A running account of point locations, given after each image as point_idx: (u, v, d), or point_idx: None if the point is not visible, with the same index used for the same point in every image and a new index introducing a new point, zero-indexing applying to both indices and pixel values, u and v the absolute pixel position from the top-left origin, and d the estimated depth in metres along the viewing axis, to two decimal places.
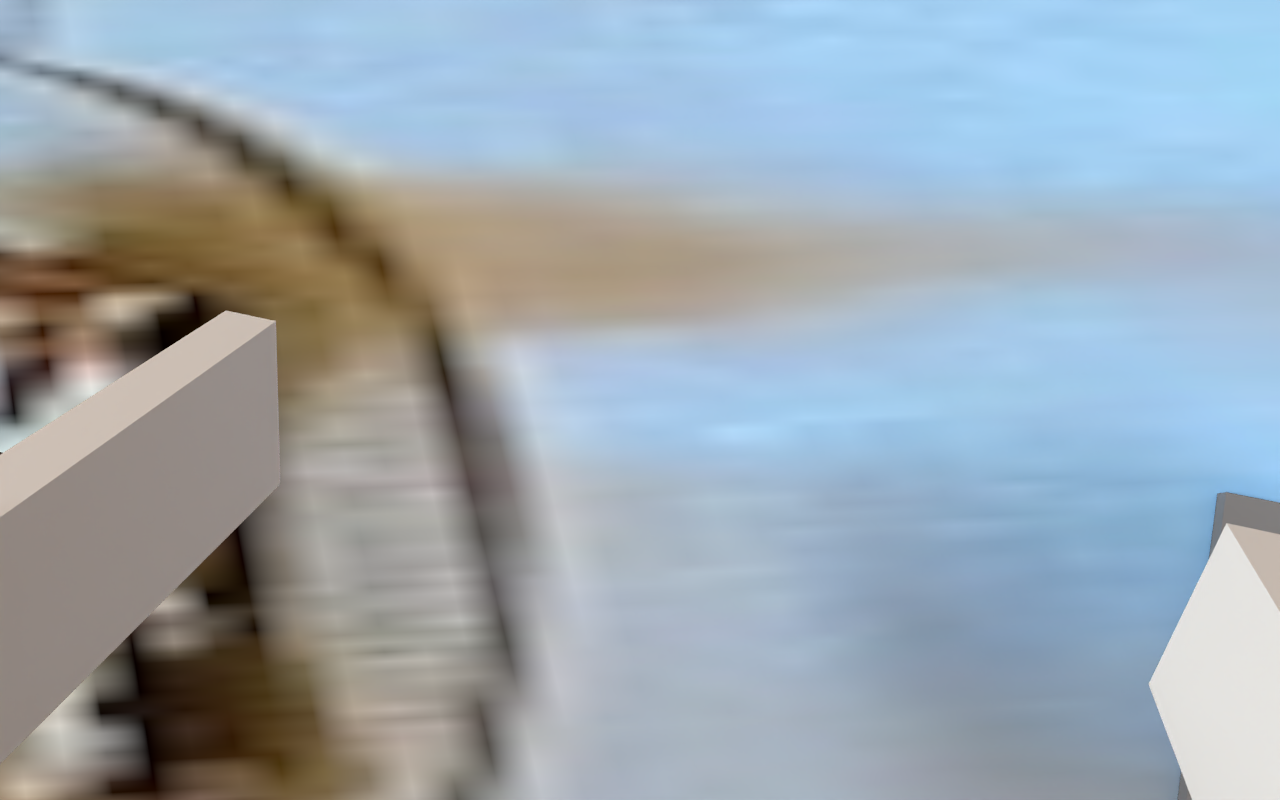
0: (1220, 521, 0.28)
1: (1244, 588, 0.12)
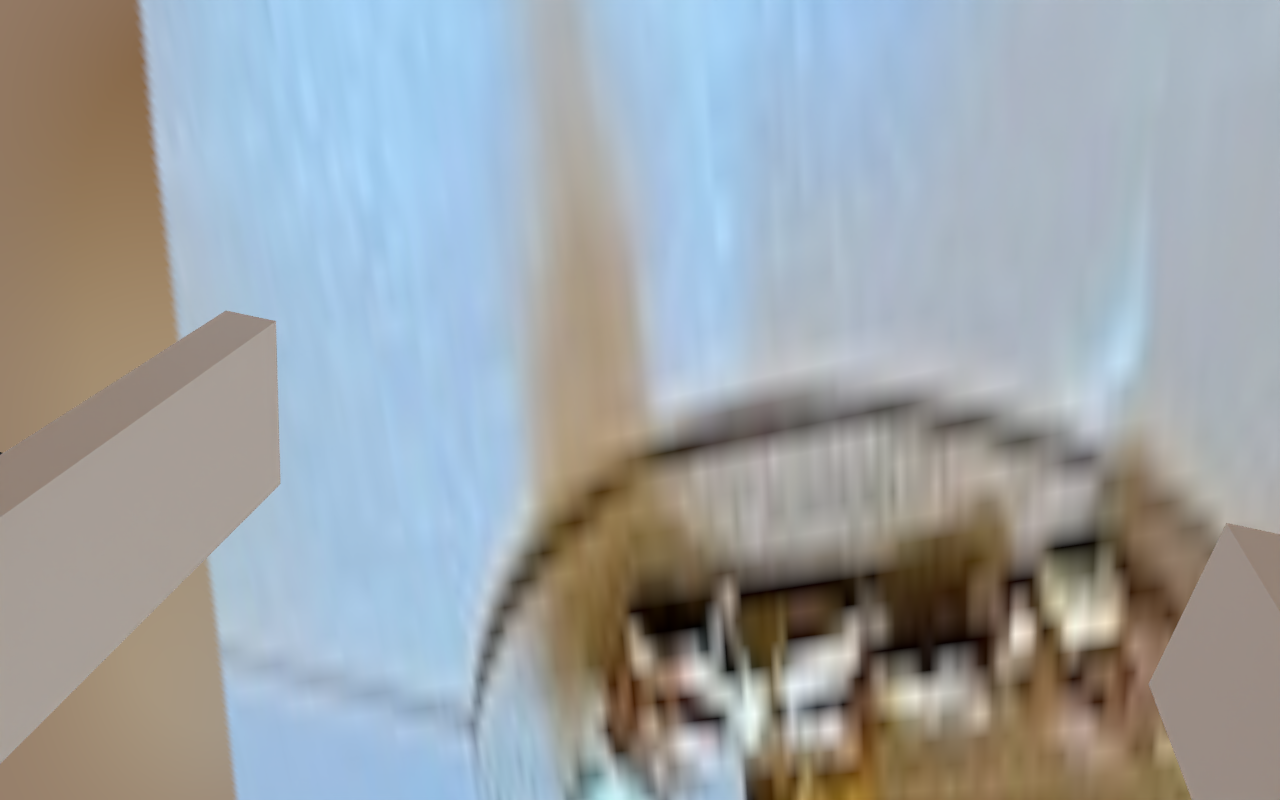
0: None
1: (1244, 588, 0.12)
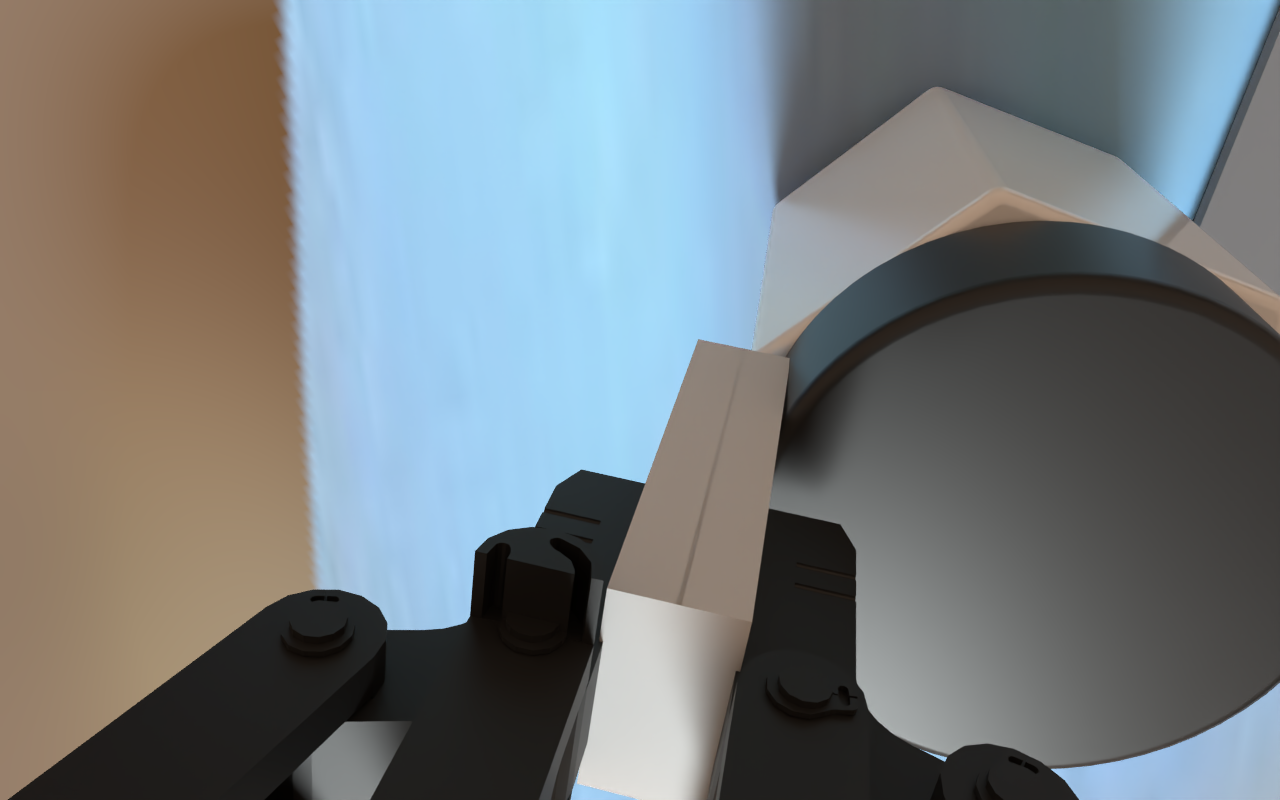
0: None
1: None
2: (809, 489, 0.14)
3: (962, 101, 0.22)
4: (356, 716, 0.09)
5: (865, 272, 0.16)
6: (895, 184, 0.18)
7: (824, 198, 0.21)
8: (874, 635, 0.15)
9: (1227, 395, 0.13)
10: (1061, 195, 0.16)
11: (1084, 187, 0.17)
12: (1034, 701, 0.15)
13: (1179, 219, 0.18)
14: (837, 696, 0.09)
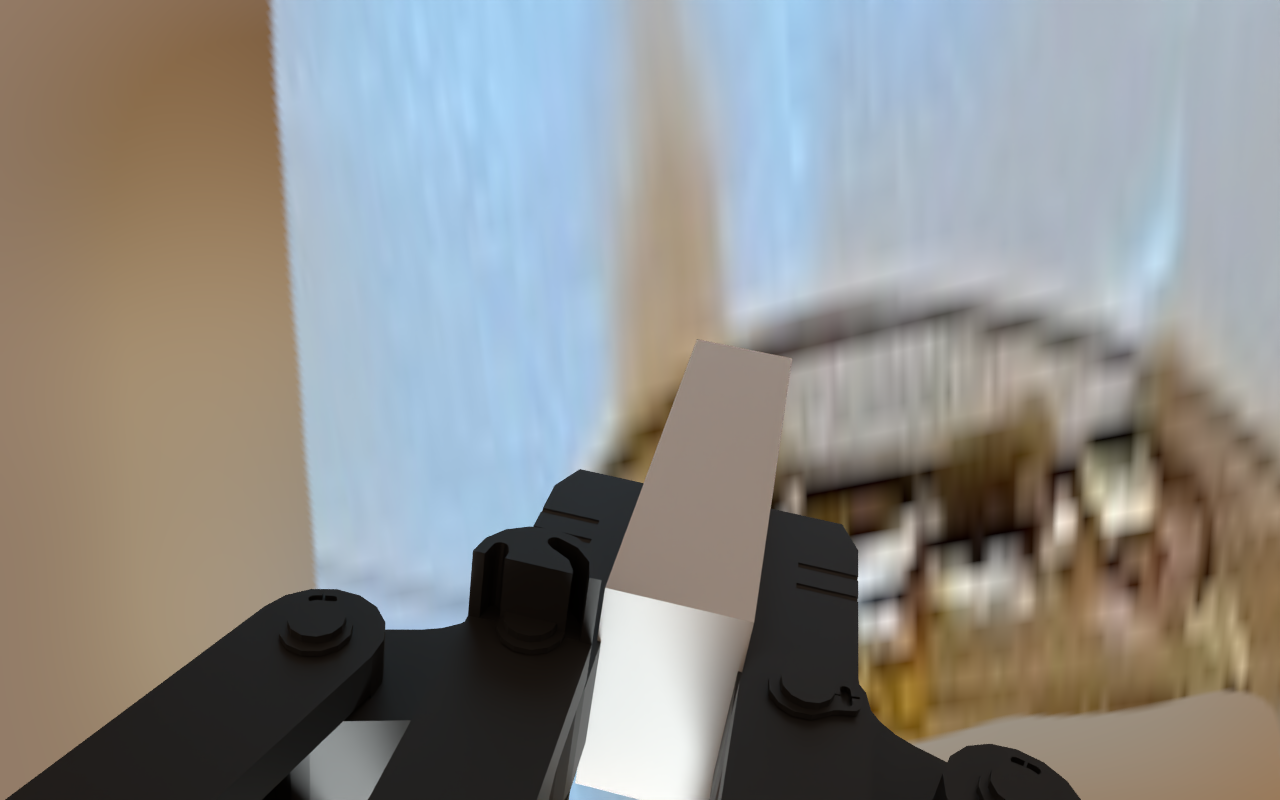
0: None
1: None
2: None
3: None
4: (354, 715, 0.09)
5: None
6: None
7: None
8: None
9: None
10: None
11: None
12: None
13: None
14: (840, 696, 0.09)
